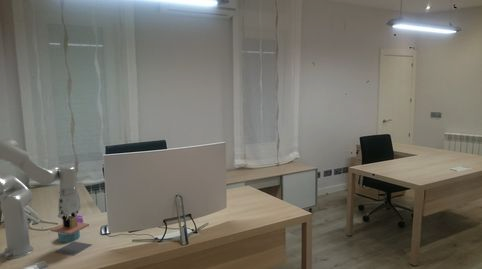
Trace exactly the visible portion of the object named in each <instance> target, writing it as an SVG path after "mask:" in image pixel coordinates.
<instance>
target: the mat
mask: <svg viewBox="0 0 482 269" xmlns="http://www.w3.org/2000/svg"><path fill="white" fill-rule="evenodd" d="M92 246H93V244H91V243H85V242H79V241H72V242H69V243H68V244H65V246H62V247H61V248H59V249H57V250H55V251H53V253H55V254H61V255H67V256H71V257H72V256H73V257H74V256H76V255H78V254H79V253H81V252H83V251H84V250H86V249H88V248H89V247H92Z"/></svg>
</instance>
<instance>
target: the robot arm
mask: <svg viewBox="0 0 482 269" xmlns="http://www.w3.org/2000/svg"><path fill="white" fill-rule="evenodd" d="M0 160H1V161H3V162H6V163H7V164H10V165H11V166H13V167H16V168H17V169H18V170H19V171H20V172H21V173H22V174H23V175H24V176H25V177H27V178H28V179H29V180H32V181H34V182H36V183H38V184H40V185H45V186H47V185H51V184H53V183H54V182H56V181H59V191H58V194H59V195H58V215H57V218H58V219H59V218H60V219H61V220H62V221H63V220H64V227H67V228H69V227H70V222H69V220H68V218H69V216H74V217H76V216H77V215H78V213H79V211H80V210H81V199H80V198H81V197H80V194H79V191H77V190H78V189H77V187H78V186H77V172H76V171H77V170H76V167H75V166H73V165H72V166H70V165H68V166H61V165H50V166H48V167H46V168H45V167H42V166H40V165H38V164H36V163H35V162H34V161H33V160H32V155H31V153H30V152H28V151H27V150H26V151H25V150H24V149H22V148H20V147H19V143H18V142H17V141H16V140H15V139H13V138H3V139H0ZM4 195H5V196H4ZM2 196H4V197H3V198H2V199H1V201H0V211H1V213H2V216H3V222H4V228H5V229H4V231H5V239H6V248H4V251H2V252H1V253H0V259H1V258H3V257H4V259H6V260H14V259H19V258H23V257H26V256H28V255H29V256H30V254H32V253H33V252H34V250H35V248H34V246H32V245H31V243H30V234H29V233H30V231H29V222H28V216H27V213H26V211H25V207H27V206H28V205H29V204H31V202H32V201H33V199H34V195H33V193H32V191H31V189H30V188H28V187H27V186H26V185H25V184H24V183H23V182H22V181H21V180H20V179H18V178H17V177H16V175H15V176H14V175H13V174H9V173H2V174H0V197H2Z"/></svg>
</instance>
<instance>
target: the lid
mask: <svg viewBox="0 0 482 269" xmlns="http://www.w3.org/2000/svg"><path fill="white" fill-rule="evenodd" d="M68 220H69V222H70V227H69V228H67V227H64V220H63V219H62V224H60V225H58V226H55V227H54V228H51V229H50V232H53V233H57V234H58V233H64V234H69V235H71V234H73V233H75V232H77V231H81V230H83V229H85V228H87V227H89V226H90V224H89V223H85V222H83V223H80V222H77V217H74V216H71V215H69V218H68Z"/></svg>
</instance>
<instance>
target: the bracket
mask: <svg viewBox="0 0 482 269" xmlns="http://www.w3.org/2000/svg"><path fill="white" fill-rule="evenodd" d="M76 217H77V222H80V223H84V218H83V215H81V214H77V216H76Z"/></svg>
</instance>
